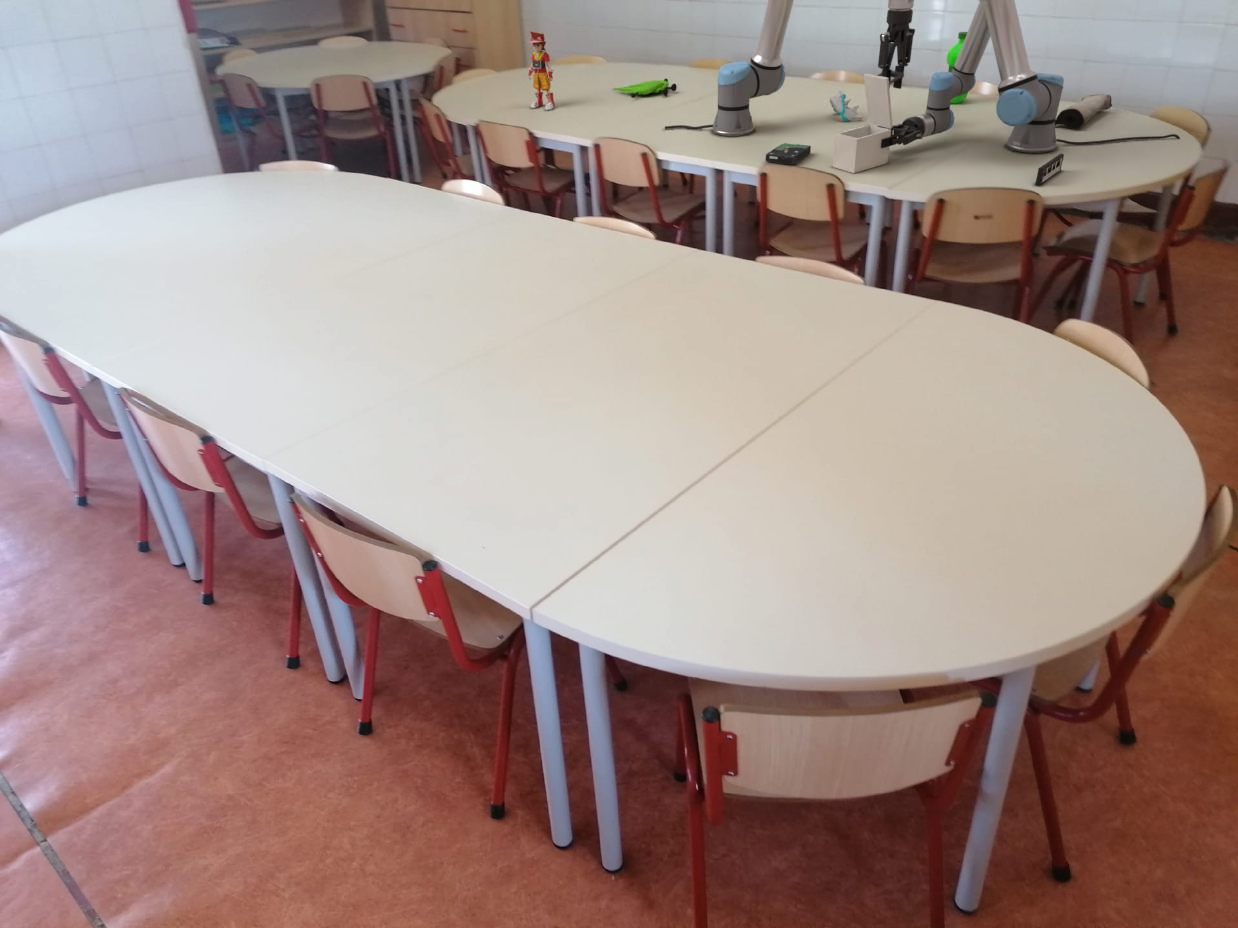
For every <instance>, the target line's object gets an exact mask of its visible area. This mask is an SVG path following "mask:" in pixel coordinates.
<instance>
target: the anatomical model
mask: <svg viewBox="0 0 1238 928" xmlns="http://www.w3.org/2000/svg"><path fill="white" fill-rule="evenodd" d="M846 98H847V95H846V93H844V92H843V91H842V90H839V91H838V93H837V95H834V96H831V97H829V103H830V106H831V107H832V110H833V112H834V113H837V114H839V115H840V117H841V119H842V121H844V122H850V121H852V120H862V119H863V118H864V117H863V115H858V114H857V110H858V108H860V105H854V106H852V107H850V106H848V105H849V103H850V101H851V100H852V99H851V98H850V99H846Z"/></svg>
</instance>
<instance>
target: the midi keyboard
mask: <svg viewBox="0 0 1238 928" xmlns="http://www.w3.org/2000/svg"><path fill="white" fill-rule="evenodd" d="M1064 157H1065V153H1059V154H1058V155H1056V156H1055V157H1052V159H1051V160H1049V161H1047V162H1045V164H1042V165H1041V166H1039V167H1038V169H1037V175H1036V179H1035V186H1040V185H1042V183H1044V182H1045V181H1047V180H1048V179H1049V178H1051V177H1052V176H1054V175H1055V174H1056V173H1058V172H1060V171H1061V170H1062V165H1063V161H1064Z"/></svg>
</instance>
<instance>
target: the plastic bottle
mask: <svg viewBox="0 0 1238 928" xmlns="http://www.w3.org/2000/svg"><path fill="white" fill-rule="evenodd" d="M967 32H968V31H959V32H958V36H957V39H958V42H957V43H956V44H954V45H953V46H952V47H951V48H950V49H949V50H948V52H947V54H946V63H947V64H948V69H947V70H948V71H947V72H952V70H953V68H954V65H955V63H956V60H957V57H958V55H959V52H960V50H961V47H962V45H963V42H964V40H965V37H966V35H967ZM968 95H969V92H967V93H966V94H964V95H960V96H958V97H955V98H953V99H951V103H950V104H960V103H961V102H963V101H964V100H966V98H967V96H968Z"/></svg>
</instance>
